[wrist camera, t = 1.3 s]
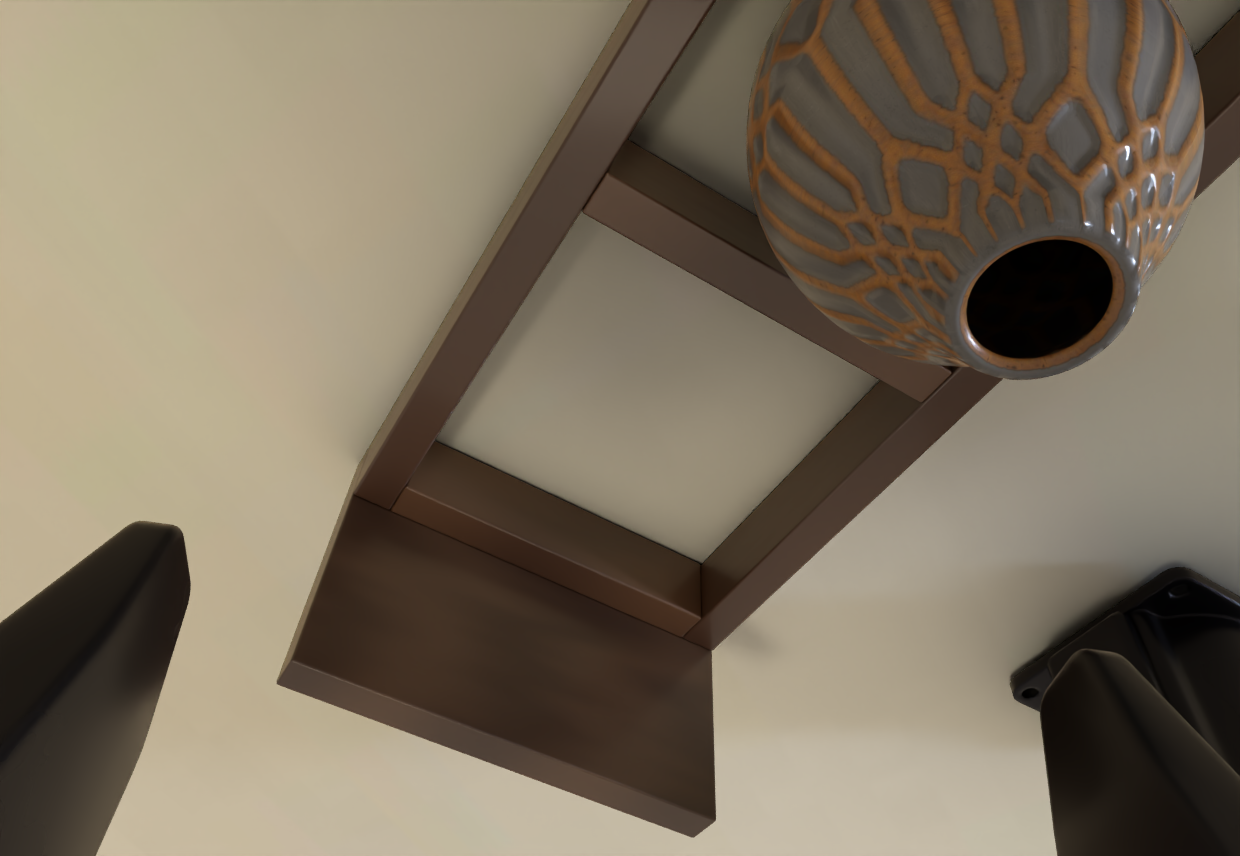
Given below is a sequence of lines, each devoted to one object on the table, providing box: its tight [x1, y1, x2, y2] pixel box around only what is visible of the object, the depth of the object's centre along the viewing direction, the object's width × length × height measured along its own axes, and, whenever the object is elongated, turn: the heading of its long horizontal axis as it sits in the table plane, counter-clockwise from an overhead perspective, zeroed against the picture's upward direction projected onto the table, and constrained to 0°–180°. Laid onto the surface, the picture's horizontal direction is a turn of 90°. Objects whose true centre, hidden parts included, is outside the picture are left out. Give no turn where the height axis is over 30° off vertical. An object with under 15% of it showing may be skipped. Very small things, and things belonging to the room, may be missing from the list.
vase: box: [746, 0, 1205, 380], centre depth 16 cm, size 7×7×9 cm
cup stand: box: [277, 0, 1240, 837], centre depth 20 cm, size 11×21×7 cm, turn 149°
